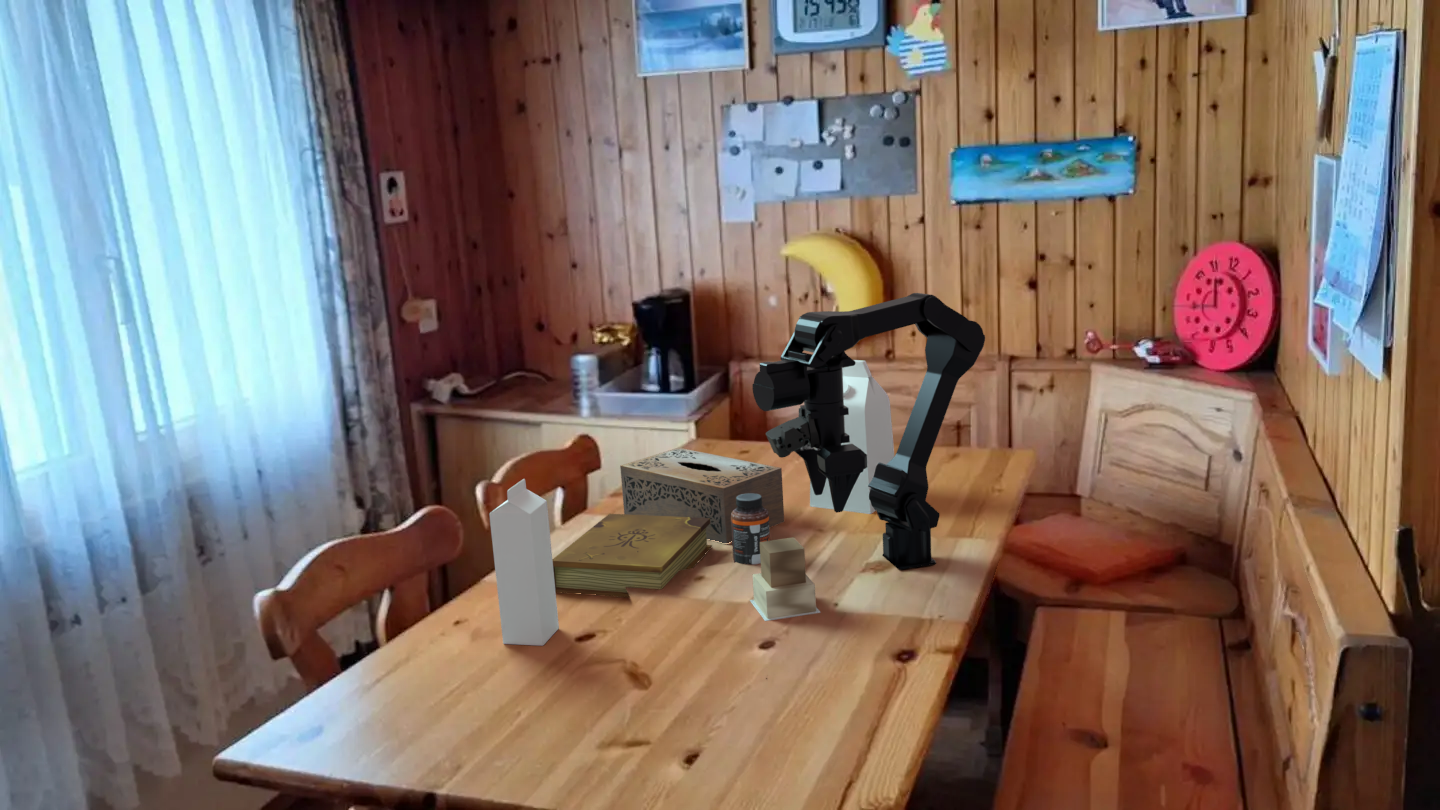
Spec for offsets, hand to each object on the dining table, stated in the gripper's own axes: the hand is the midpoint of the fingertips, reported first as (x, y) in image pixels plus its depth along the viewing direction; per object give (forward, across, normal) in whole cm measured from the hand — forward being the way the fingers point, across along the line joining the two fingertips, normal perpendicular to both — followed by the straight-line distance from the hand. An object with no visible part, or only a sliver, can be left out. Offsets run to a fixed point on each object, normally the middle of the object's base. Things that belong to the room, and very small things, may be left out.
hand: (828, 503), depth 178 cm
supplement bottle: (+13, -12, -9) cm, 20 cm away
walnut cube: (+7, +9, -10) cm, 15 cm away
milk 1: (+13, +3, -45) cm, 47 cm away
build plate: (+12, +9, -10) cm, 18 cm away
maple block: (+11, +9, -10) cm, 18 cm away
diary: (+13, -18, -27) cm, 35 cm away
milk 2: (+13, -37, +17) cm, 43 cm away
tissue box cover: (+13, -38, -11) cm, 42 cm away
